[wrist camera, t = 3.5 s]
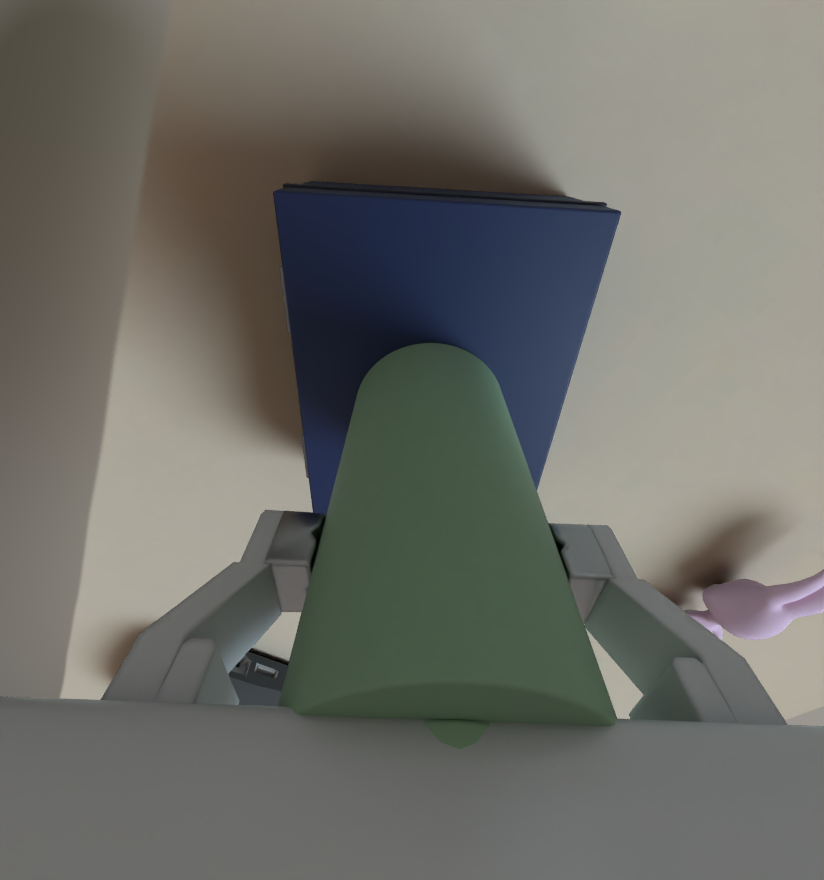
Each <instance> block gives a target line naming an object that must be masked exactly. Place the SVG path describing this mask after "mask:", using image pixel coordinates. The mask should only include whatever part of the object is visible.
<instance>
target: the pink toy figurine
mask: <svg viewBox="0 0 824 880" xmlns="http://www.w3.org/2000/svg"><path fill="white" fill-rule="evenodd" d="M702 596H703V601H704V603H705V605H706V607H707V608H708V610H706V611H697V610H685V612H686V613H687V614H688V615H690V616H691V617H692V618H693V619H695V620H696V621H697V622H699V623H700V624H701V625H702V626H704V627H705V628H706V629H708V630H709V631H712V632H713V634H714V635H715V636H717V637H718V638H719V639H720V640H722V636H723V632H722V628H721V626H722V627H723V628H724V629H725V630H726V631H728V632H729V633H731V634H732V635H734V636H737V637H739V638H743V639H750V640H759V639H766V638H769V637H772V636H775V635H777V634H778V633H780V632H781V631H782V630H784V629H785V628H786V627H787V625H788V624H789V623H790V622H791V621H792V620H793V619H795V618H797V617H801V616H808V615H813V614H818V613H821V612H824V570H822V571H821V572H819V573H817V574H816V575H814V576H811V577H809V578H806V579H803V580H800V581H797V582H793V583H788V584H781V585H773V586H765V585H763V584H761V583H758V582H755V581H752V580H748V579H739V580H735V581H731V582H728V583H727V582H723V584H713V585H712V586H709V587H707V588H706V589H705V590H704V591H703V595H702ZM720 625H721V626H720Z"/></svg>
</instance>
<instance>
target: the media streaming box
mask: <svg viewBox="0 0 824 880" xmlns="http://www.w3.org/2000/svg"><path fill="white" fill-rule="evenodd" d="M287 668H288V666H287V665H285V664H282V663H279V662H276V661H274V660H271V659H268V658H265V657H262V656H259V655H256V654H253V653H250V652H247V653H246V654H245V655H244V657H243V658H242V659H241V660H240V661H239V662H238V663H237V664H236V666H235V667H234V668H233V669H232V670H231V671H230V672H229V673H228V675H229V677H230V679H231V682H232V684H233V686H234V689H235V691H236V694H237V696H238V698H239V704H238V705H254V706H278V703H279V699H280V696H281V692H282V688H283V684H284V680H285V676H286V672H287Z"/></svg>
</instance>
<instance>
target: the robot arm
mask: <svg viewBox="0 0 824 880" xmlns="http://www.w3.org/2000/svg"><path fill="white" fill-rule="evenodd" d="M325 519H326V514H324V513H309V512H295V511H276V510H265V511H264V512H263V513H262V514H261V516H260V518H259V520H258V522H257V525H256V527H255V529H254V531H253V534H252V536H251V538H250V540H249V543H248V545H247V547H246V550H245V552H244V554H243V556H242V559H241V561H240V562H233V563H232V564H231V565H229V566H228V567H227V568H225V569H224V570H223V571H221V572H220V573H219V574H218V575H216V576H215V577H214V578H212V579H211V580H210V581H208V582H207V583H206V584H204V585H203V586H202V587H200V588H199V589H198V590H196V591H195V592H194V593H193V594H191V595H190V596H189V597H187V598H186V599H185V600H183V601H182V602H181V603H179V604H178V605H177V606H175V607H174V608H173V609H172V610H170V611H169V612H168V613H166V614H165V615H164V616H162V617H161V618H160V619H158V620H157V621H156V622H154V623H153V624H152V625H150V626H149V627H148V628H147V629H145V630H144V631H143V632H141V633H140V634H139V635H138V637H137V639H136V641H135V642H134V644H133V646H132V647H131V649H130V651H129V652H128V654H127V656H126V658H125V659H124V661H123V663H122V664H121V666H120V668H119V669H118V671H117V673H116V675H115V676H114V678H113V680H112V681H111V683H110V685H109V686H108V688H107V690H106V692H105V693H104V695H103V697H102V698H101V700H87V699H59V698H30V697H3V696H0V880H824V726H805V725H803V726H802V725H788V724H787V723H786V721H785V720H784V718H783V717H782V715H781V714H780V712H779V711H778V709H777V708H776V706H775V704H774V703H773V701H772V700H771V698H770V697H769V695H768V694H767V692H766V691H765V689H764V687H763V686H762V684H761V683H760V681H759V680H758V678H757V677H756V675H755V674H754V672H753V670H752V669H751V667H750V666H749V664H748V663H747V661H746V660H745V658H743V657H742V656H741V655H740V654H738V653H737V652H736V651H734V650H733V649H732V648H731V647H729V646H728V645H727V644H726V643H724V642H723V641H722V640H720V639H719V638H718V637H717V636H715V635H714V634H713V633H711V632H710V631H709V630H708V629H706V628H705V627H704V626H702V625H701V624H700V623H699V622H697V621H696V620H695V619H693V618H692V617H691V616H690V615H688V614H687V613H686V612H685V611H683V610H682V609H681V608H679V607H678V606H677V605H676V604H674V603H673V602H672V601H670V600H669V599H668V598H667V597H665V596H664V595H663V594H661V593H660V592H659V591H658V590H656V589H655V588H654V587H652V586H651V585H650V584H649V583H647V582H646V581H645V580H639V579H637V577H636V575H635V573H634V571H633V569H632V567H631V565H630V564H629V562H628V560H627V558H626V556H625V554H624V552H623V550H622V548H621V547H620V545H619V543H618V541H617V539H616V537H615V535H614V533H613V531H612V530H611V528H610V527H608V526H607V525H582V524H553V523H548V524H549V527H550V530H551V533H552V536H553V538H554V541H555V544H556V547H557V550H558V553H559V555H560V558H561V561H562V564H563V567H564V570H565V572H566V575H567V578H568V581H569V584H570V587H571V589H572V592H573V595H574V598H575V601H576V604H577V606H578V609H579V612H580V615H581V618H582V621H583V623H584V624H585V625H584V626H585V628H586V629H587V630H588V631H589V632H590V633H591V634H592V636H593V637H594V638H595V639H596V640H597V641H598V643H599V644H600V645H601V646H602V647H603V648H604V649H605V651H606V652H607V653H608V654H609V655H610V656H611V658H612V659H613V660H614V661H615V662H616V663H617V664H618V666H619V667H620V668H621V669H622V670H623V671H624V673H625V674H626V675H627V676H628V677H629V678H630V680H631V681H632V682H633V683H634V684H635V685H636V686H637V688H638V689H639V690H640V691H641V692H642V693H643V697H642V698H641V699H640V700H639V701H638V703H637V704H636V705H635V706H634V708H633V709H632V710H631V712H630V714H629V716H630V719H615V724H614V725H611V726H597V725H569V724H541V723H513V722H485V721H477V722H484V723H489V725H490V727H489V728H487V730H486V731H485V732H484V734H483V735H482V736H481V738H480V739H479V740H478V742H477V743H475V744H473V745H470V746H467V747H464V748H461V749H457V748H455V747H452V746H450V745H447V744H445V743H442V742H440V741H439V740H438V738H437V737H436V736H435V735H434V734H433V733H432V732H431V730H430V729H429V728H428V727H427V726H426V725H424V721H429V720H428V719H400V718H372V717H343V716H315V715H299V714H296V713H295V712H294V711H293V709H292V708H291V707H281V706H254V705H238V704H239V698H238V696H237V694H236V691H235V689H234V686H233V684H232V682H231V679H230V677H229V675H228V673H229V672H230V671H231V670H232V669H233V668H234V667H235V666H236V664H237V663H238V662H239V661H240V660H241V659H242V658H243V657H244V655H245V654H246V653H247V652H248V651H249V650H250V649H251V648H252V647H253V645H254V644H255V643H256V642H257V641H258V640H259V639H260V638H261V636H262V635H263V634H264V633H265V632H266V631H267V630H268V629H269V627H270V626H271V625H272V624H273V623H274V622H275V621H276V620H277V618H278V617H279V616H280V615H281V612H302V609H303V605H304V601H305V597H306V593H307V590H308V586H309V582H310V578H311V574H312V570H313V566H314V562H315V558H316V554H317V550H318V546H319V542H320V538H321V535H322V531H323V527H324V523H325Z"/></svg>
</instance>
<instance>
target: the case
mask: <svg viewBox="0 0 824 880" xmlns="http://www.w3.org/2000/svg"><path fill="white" fill-rule="evenodd" d="M273 196H274V204H275V212H276V220H277V228H278V236H279V244H280V252H281V260H282V266H280V273H281V281H282V289H283V296H284V304H285V312H286V320H287V328H288V334H291V340H292V348H293V356H294V364H295V372H296V380H297V388H298V396H299V404H300V412H301V420H302V427H303V435H302V444H303V452H304V460H305V468H306V475H307V478H309V483H310V491H311V499H312V507H313V513H324V514H326V515H327V511H328V507H329V503H330V499H331V495H332V491H333V487H334V483H335V480H336V476H337V472H338V468H339V464H340V460H341V456H342V452H343V448H344V444H345V440H346V436H347V432H348V428H349V425H350V421H351V417H352V413H353V409H354V405H355V401H356V397H357V393H358V390H359V387H360V385H361V383H362V381H363V379H364V377H365V376H366V374H367V373H368V372H369V370H370V369H371V368H372V367H373V366H374V365H375V364H376V363H377V362H378V361H379V360H381V359H382V358H383V357H385V356H386V355H388V354H390V353H392V352H393V351H396V350H398V349H401V348H403V347H406V346H410V345H414V344H421V343H440V344H447V345H451V346H455V347H458V348H461V349H463V350H466V351H467V352H469V353H471V354H473V355H475V356H476V357H477V358H479V359H480V360H481V361H483V362H484V363H485V364H486V365H487V366H488V367H489V369H490V370H491V371H492V373H493V374H494V375H495V377H496V379H497V381H498V383H499V386H500V389H501V391H502V394H503V397H504V400H505V403H506V406H507V408H508V411H509V414H510V417H511V420H512V422H513V425H514V428H515V431H516V434H517V437H518V439H519V442H520V445H521V448H522V451H523V454H524V456H525V459H526V462H527V465H528V468H529V471H530V473H531V476H532V479H533V482H534V485H535V488H536V490H537V488H538V485H539V482H540V478H541V475H542V472H543V469H544V465H545V462H546V459H547V455H548V452H549V449H550V445H551V442H552V439H553V436H554V432H555V429H556V426H557V422H558V419H559V416H560V413H561V409H562V406H563V403H564V399H565V396H566V393H567V389H568V386H569V383H570V380H571V376H572V373H573V370H574V366H575V363H576V360H577V357H578V353H579V350H580V347H581V343H582V340H583V337H584V334H585V330H586V327H587V324H588V320H589V317H590V314H591V310H592V307H593V304H594V301H595V297H596V294H597V291H598V287H599V284H600V281H601V278H602V274H603V271H604V268H605V264H606V261H607V258H608V255H609V251H610V248H611V245H612V241H613V238H614V235H615V231H616V228H617V225H618V222H619V218H620V215H621V212H620V211H618V210H615V209H611V208H608V207H606V205H607V204H606V203H604V202H590V201H582V200H579V199H575V198H571V197H566V196H550V195H533V194H516V193H500V192H483V191H466V190H450V189H433V188H416V187H400V186H383V185H366V184H350V183H333V182H317V181H311V182H307V183H303V184H290V183H286V184H283V189H279V190H275V191H274V192H273Z"/></svg>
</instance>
